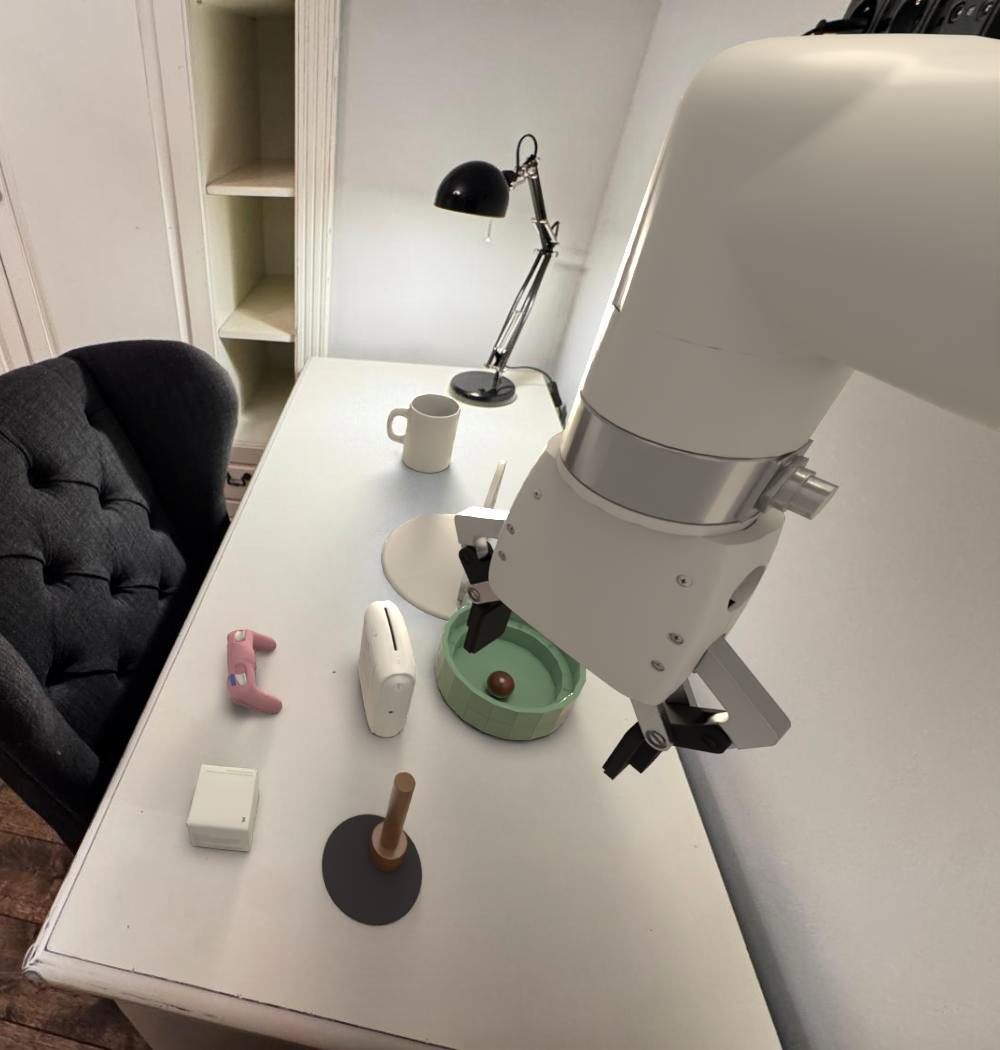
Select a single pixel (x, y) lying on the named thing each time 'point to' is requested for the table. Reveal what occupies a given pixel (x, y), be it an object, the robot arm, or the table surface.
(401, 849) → the pestle
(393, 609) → the photo printer
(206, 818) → the small box
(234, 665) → the video game controller
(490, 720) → the bowl
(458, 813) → the table surface
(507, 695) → the chestnut
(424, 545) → the ornament
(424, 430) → the mug
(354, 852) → the coaster
